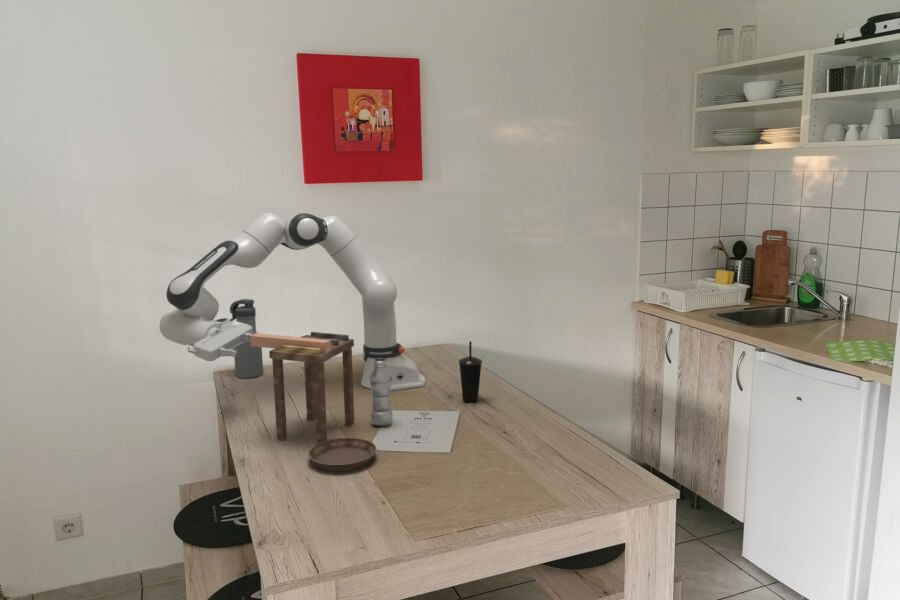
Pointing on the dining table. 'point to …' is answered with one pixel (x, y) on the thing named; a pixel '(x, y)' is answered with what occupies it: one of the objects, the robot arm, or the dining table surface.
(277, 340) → the terracotta bar
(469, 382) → the drinking cup
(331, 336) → the walnut stool
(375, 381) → the plastic bottle
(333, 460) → the plant saucer
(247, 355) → the water bottle
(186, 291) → the robot arm
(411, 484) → the dining table surface
